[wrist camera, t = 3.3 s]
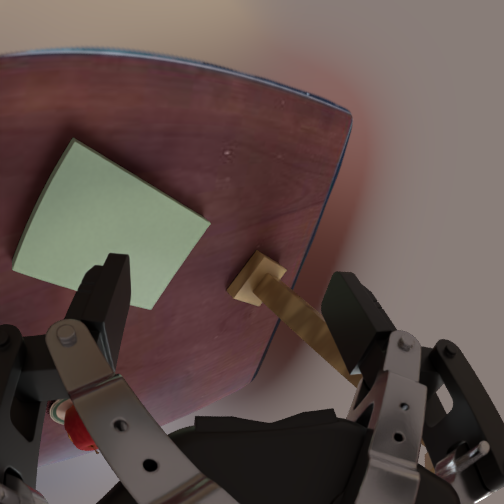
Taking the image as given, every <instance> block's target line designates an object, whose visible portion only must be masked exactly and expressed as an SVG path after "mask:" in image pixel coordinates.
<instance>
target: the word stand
mask: <svg viewBox="0 0 504 504" xmlns="http://www.w3.org/2000/svg"><path fill="white" fill-rule="evenodd" d="M286 271H287V269H285V268H284V267H283V266H282V265H280V264H279V263H277V262H276V261H274V260H273V259H271V258H269V257H268V256H266V255H264V254H263V253H261V252H260V251H258V250H256V252H255V253H254V254H253V256H252V257H251V258H250V260H249V261H248V262H247V264H246V265H245V266H244V268H243V269H242V270H241V272H240V273H239V274H238V276H237V277H236V278H235V280H234V281H233V282H232V284H231V285H230V286H229V288H228V289H227V290H226V291H227V292H228V293H229V294H230V295H231V296H232V297H233V298H234V299H237V300H241V301H244V302H247V303H250V304H253V305H257V306H260V304H261V303H262V302H263V303H264V304H265V305H266V306H267V307H268V308H269V309H271V310H272V311H273V312H274V313H275V314H276V315H277V316H278V317H279V318H280V319H281V320H283V321H284V323H286V324H287V325H288V326H289V327H290V328H291V329H292V330H293V331H294V332H295V333H296V334H297V335H298V336H300V337H301V338H302V339H303V340H304V341H305V342H306V343H307V344H308V345H309V346H311V347H312V348H313V349H314V350H315V351H316V352H317V353H318V354H319V355H321V357H323V358H324V359H325V360H326V361H327V362H328V363H329V364H330V365H331V366H333V367H334V368H335V369H336V370H337V371H338V372H339V373H340V374H341V375H343V376H344V377H345V378H346V379H347V380H348V381H349V382H350V383H352V384H353V385H354V386H355V387H356V388H357V387H358V384H359V381H360V380H361V378H362V377H363V376H362V374H354V375H350V374H349V372H348V370H347V368H346V366H345V363H344V361H343V359H342V357H341V354H340V352H339V350H338V348H337V346H336V344H335V341H334V339H333V337H332V335H331V333H330V331H329V328H328V326H327V324H326V322H325V320H324V318H323V316H322V315H321V314H320V313H319V312H317V311H316V310H315V309H314V308H313V307H312V306H310V305H309V304H308V303H307V302H306V301H304V300H303V299H302V298H301V297H300V296H298V295H297V294H296V293H295V292H294V291H293V290H291V289H290V288H289V287H288V286H287V285H286V284H284V283H283V282H282V281H281V280H280V279H281V277H282V276H283V275H284V273H285V272H286ZM421 444H422V445H424V446H425V444H424V442H423V439H422V440H421ZM425 468H426V469H428V470H429V471H431V472H433V473H434V474H435V470H434V467H433V464H432V462H431V459H430V457H429V454H428V452H427V453H426V454H425Z"/></svg>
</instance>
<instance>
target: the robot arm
mask: <svg viewBox="0 0 504 504" xmlns="http://www.w3.org/2000/svg"><path fill="white" fill-rule="evenodd" d="M130 301H131V276H130V257H129V254H119V253H109V254H108V256H107V258H106V260H105V262H104V265H103V266H102V265H94V266H93V267H92V268H91V269H89V270H88V271H87V272H86V273H85V275H84V277H83V279H82V281H81V284H80V285H79V287H78V291H77V292H76V294H75V296H74V298H73V300H72V302H71V305H70V307H69V309H68V311H67V313H66V316H65V318H64V319H63V320H60V321H57V322H56V323H54V324H53V325H51V326H50V328H49V329H48V330H47V332H46V334H44V335H38V336H27V337H22V335H21V333H20V331H19V329H18V328H16V327H15V326H13V325H9V324H4V325H0V504H48V502H47V500H46V499H45V498H44V496H43V495H42V494H41V493H40V492H38V491H37V490H36V476H37V465H38V456H39V448H40V441H41V434H42V428H43V422H44V416H45V411H46V406H47V401H50V400H61V399H71V401H72V403H73V405H74V407H75V409H76V411H77V413H78V415H79V417H80V418H81V420H82V422H83V424H84V426H85V427H86V429H87V431H88V432H89V434H90V436H91V437H92V439H93V441H94V442H95V444H96V446H97V447H98V449H99V450H100V452H101V453H102V455H103V456H104V458H105V460H106V461H107V463H108V464H109V466H110V467H111V468H112V470H113V471H114V473H115V474H116V475H117V477H118V478H119V480H120V481H119V482H118V483H117V484H116V485H115V486H114V487H113V488H112V489H111V490H110V491H109V492H108V493H107V494H106V495H105V496H104V497H103V498H102V499H101V500H100V501H99V502H97V503H96V504H474V503H476V502H478V501H480V500H482V499H484V498H485V497H487V496H489V495H491V494H493V493H494V492H496V491H498V490H499V489H501V488H502V487H504V423H503V421H502V419H501V417H500V415H499V413H498V411H497V410H496V408H495V406H494V404H493V402H492V401H491V399H490V397H489V395H488V394H487V392H486V390H485V389H484V387H483V385H482V383H481V382H480V380H479V379H478V377H477V375H476V374H475V372H474V370H473V369H472V367H471V366H470V364H469V363H468V361H467V359H466V358H465V356H464V355H463V353H462V352H461V350H460V349H459V348H458V347H457V346H456V345H455V344H454V343H453V342H451V341H449V340H445V339H441V340H439V341H438V342H437V343H436V345H435V346H434V348H427V347H421V345H420V343H419V341H418V340H417V339H416V338H415V337H414V336H413V335H411V334H410V333H408V332H405V331H401V330H397V329H396V328H395V326H394V325H393V323H392V322H391V320H390V319H389V317H388V316H387V314H386V313H385V311H384V310H383V309H382V307H381V305H380V304H379V302H377V300H376V298H375V297H374V295H373V294H372V292H371V291H369V290H368V289H367V288H366V287H365V286H363V285H362V284H361V283H360V281H359V280H358V278H357V277H356V276H355V274H354V273H352V272H335V273H334V274H333V275H332V278H331V280H330V283H329V285H328V288H327V291H326V293H325V295H324V298H323V301H322V305H321V311H322V315H323V318H324V320H325V322H326V324H327V326H328V328H329V331H330V333H331V335H332V337H333V339H334V341H335V344H336V346H337V348H338V350H339V352H340V354H341V357H342V359H343V361H344V363H345V366H346V368H347V370H348V372H349V374H350V375H354V374H362V376H363V377H362V378H361V380H360V381H359V384H358V387H357V390H356V393H355V396H354V399H353V402H352V405H351V407H350V410H349V413H348V415H347V417H346V419H342V418H337V417H336V414H335V412H334V409H325V410H318V411H309V412H302V413H300V414H297V415H294V416H291V417H288V418H285V419H282V420H279V421H276V422H273V423H266V422H259V421H253V420H248V419H242V418H237V417H232V416H231V417H211V416H195V423H194V426H189V427H185V428H182V429H179V430H177V431H174V432H172V433H170V434H168V435H167V434H166V433H165V432H164V431H163V429H162V428H161V427H160V426H159V425H158V423H157V422H156V421H155V420H154V418H153V417H152V416H151V415H150V413H149V412H148V411H147V409H146V408H145V407H144V405H143V404H142V403H141V402H140V400H139V399H138V397H137V396H136V395H135V393H134V392H133V391H132V389H131V388H130V386H129V385H128V384H127V382H126V381H125V379H124V378H123V377H122V376H121V375H120V374H117V375H116V374H115V373H114V372H115V369H116V364H117V359H118V354H119V350H120V345H121V340H122V336H123V331H124V327H125V323H126V318H127V314H128V310H129V306H130ZM443 384H445V386H446V388H447V390H448V391H449V393H450V395H451V397H452V399H453V408H452V410H451V411H450V412H449V413H448V414H446V412H445V410H444V408H443V406H442V404H441V402H440V400H439V398H438V396H437V394H436V391H437V390H438V389H439V388H440V387H441V386H442V385H443ZM422 439H423V442H424V444H425V447H426V449H427V452H428V454H429V457H430V459H431V462H432V464H433V467H434V470H435V474H434V473H433V472H431V471H429V470H428V469H426V468H425V467H423V466H421V465H420V464H418V458H419V452H420V447H421V440H422Z"/></svg>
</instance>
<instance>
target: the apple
mask: <svg viewBox="0 0 504 504" xmlns="http://www.w3.org/2000/svg"><path fill="white" fill-rule="evenodd" d="M50 416H51V418H52V419H53V420H54V421H56V422H58V423H60V424H64V426H65V430H66V431H67V433H68V437H69V438H70V440H71V441H72V442H73V444H74V445H75V446H76V447H77V448H78V449H80V450H85V451H90V450H95V452H96V454H98V453H99V452H97V451H96V449H98V447H97V446H96V444H95V442H94V441H93V439H92V437H91V436H90V434H89V432H88V431H87V429H86V427H85V426H84V424H83V422H82V420H81V418H80V417H79V415H78V413H77V411H76V409H75V407H74V405H73V403H72V401H71V399H61V400H56V401H55V402H54V403H53V404H52V406H51V408H50Z"/></svg>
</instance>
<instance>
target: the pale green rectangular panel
mask: <svg viewBox="0 0 504 504" xmlns="http://www.w3.org/2000/svg"><path fill="white" fill-rule="evenodd" d="M210 224H211V223H210V222H209V221H208V220H207V219H205V218H204V217H203V216H201V215H200V214H198V213H196V212H195V211H193V210H191V209H190V208H188V207H187V206H185V205H183V204H182V203H180V202H178V201H177V200H175V199H173V198H172V197H170V196H169V195H167V194H165V193H164V192H162V191H160V190H159V189H157V188H156V187H154V186H152V185H151V184H149V183H147V182H146V181H144V180H142V179H141V178H139V177H138V176H136V175H134V174H133V173H131V172H129V171H128V170H126V169H124V168H123V167H121V166H120V165H118V164H116V163H115V162H113V161H111V160H110V159H108V158H106V157H105V156H103V155H101V154H100V153H98V152H97V151H95V150H93V149H92V148H90V147H88V146H87V145H85V144H83V143H82V142H80V141H78V140H77V139H75V138H72V140H71V141H70V143H69V145H68V146H67V148H66V149H65V151H64V153H63V154H62V156H61V158H60V159H59V161H58V163H57V165H56V166H55V168H54V170H53V172H52V174H51V175H50V177H49V179H48V181H47V183H46V185H45V187H44V189H43V190H42V192H41V194H40V196H39V198H38V201H37V203H36V205H35V207H34V209H33V211H32V213H31V215H30V218H29V220H28V222H27V224H26V227H25V229H24V231H23V234H22V236H21V239H20V241H19V244H18V246H17V249H16V251H15V254H14V257H13V260H12V270H13V271H16V272H19V273H22V274H25V275H28V276H31V277H34V278H37V279H40V280H44V281H47V282H50V283H53V284H56V285H60V286H63V287H66V288H70V289H73V290H76V291H78V287H79V285H80V284H81V281H82V279H83V277H84V275H85V273H86V272H87V271H88V270H89V269H91V268H92V267H93V266H94V265H102V266H103V265H104V262H105V260H106V258H107V256H108V254H109V253H119V254H129V257H130V276H131V301H130V305H133V306H137V307H141V308H145V309H150V310H151V309H152V307H153V306H154V304H155V303H156V301H157V300H158V298H159V297H160V295H161V294H162V292H163V291H164V289H165V288H166V287H167V285H168V284H169V282H170V281H171V279H172V278H173V276H174V275H175V273H176V272H177V270H178V269H179V267H180V266H181V265H182V263H183V262H184V260H185V259H186V257H187V256H188V255H189V253H190V252H191V250H192V249H193V247H194V246H195V245H196V243H197V242H198V240H199V239H200V238H201V236H202V235H203V233H204V232H205V231H206V229H207V228H208V226H209V225H210Z"/></svg>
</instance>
